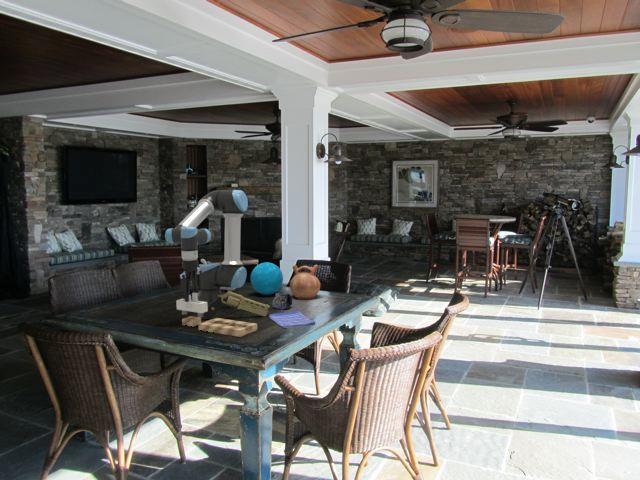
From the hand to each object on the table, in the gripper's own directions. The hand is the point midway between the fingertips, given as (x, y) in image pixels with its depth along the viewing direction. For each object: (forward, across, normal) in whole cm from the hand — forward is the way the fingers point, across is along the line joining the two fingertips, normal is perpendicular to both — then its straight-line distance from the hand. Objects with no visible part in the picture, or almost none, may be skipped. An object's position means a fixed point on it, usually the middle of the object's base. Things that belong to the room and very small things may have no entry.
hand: (191, 306), depth 256 cm
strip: (+4, 0, 0) cm, 4 cm away
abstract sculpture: (+11, +66, +42) cm, 79 cm away
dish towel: (+10, +28, -39) cm, 49 cm away
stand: (+8, -1, 0) cm, 8 cm away
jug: (+11, +81, -16) cm, 83 cm away
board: (+8, -1, -22) cm, 24 cm away
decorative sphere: (+11, +77, +9) cm, 78 cm away
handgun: (+9, +21, -11) cm, 25 cm away
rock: (+10, +51, -19) cm, 55 cm away
